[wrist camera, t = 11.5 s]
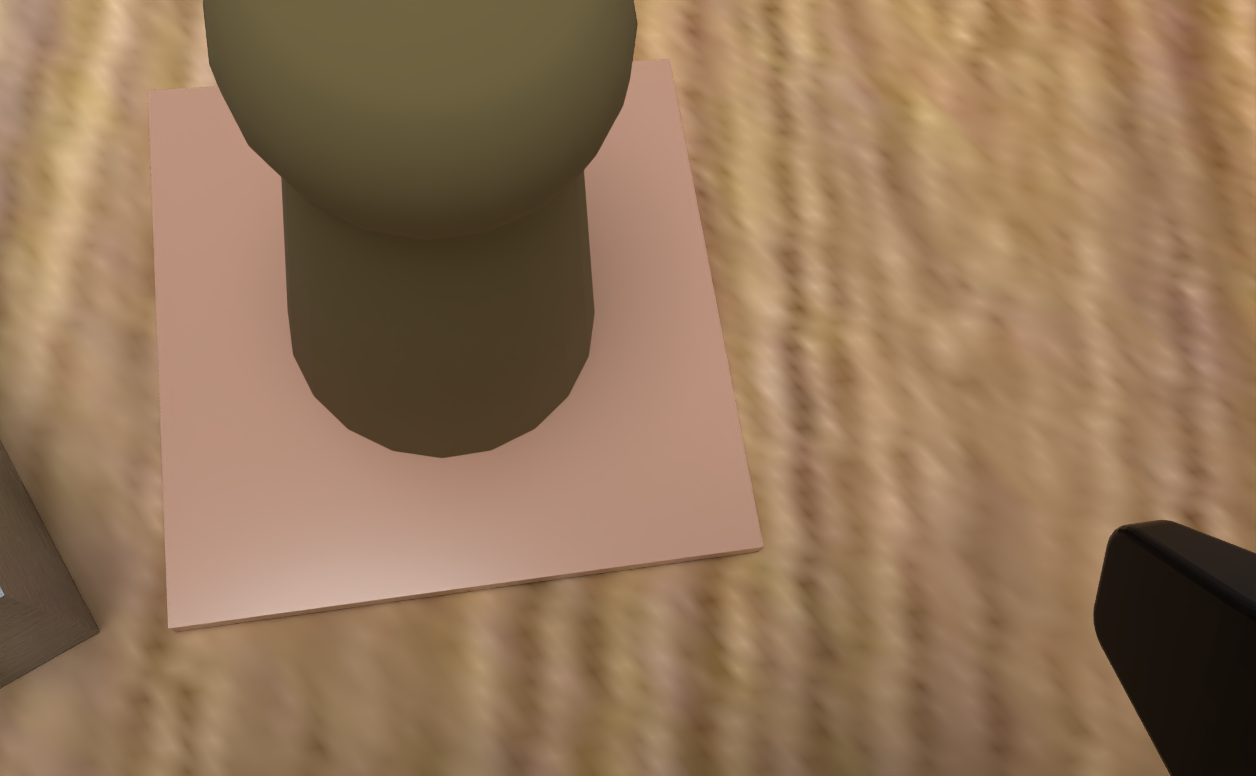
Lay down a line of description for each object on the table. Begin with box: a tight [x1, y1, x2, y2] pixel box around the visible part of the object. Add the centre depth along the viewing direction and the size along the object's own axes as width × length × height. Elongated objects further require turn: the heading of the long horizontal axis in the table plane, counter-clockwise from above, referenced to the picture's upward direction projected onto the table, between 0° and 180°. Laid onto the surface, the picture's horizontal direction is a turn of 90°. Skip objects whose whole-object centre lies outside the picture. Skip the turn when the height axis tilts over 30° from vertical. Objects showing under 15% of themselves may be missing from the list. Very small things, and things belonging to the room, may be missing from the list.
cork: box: [203, 0, 637, 458], centre depth 18 cm, size 6×6×11 cm
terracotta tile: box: [148, 59, 764, 632], centre depth 23 cm, size 11×11×1 cm
